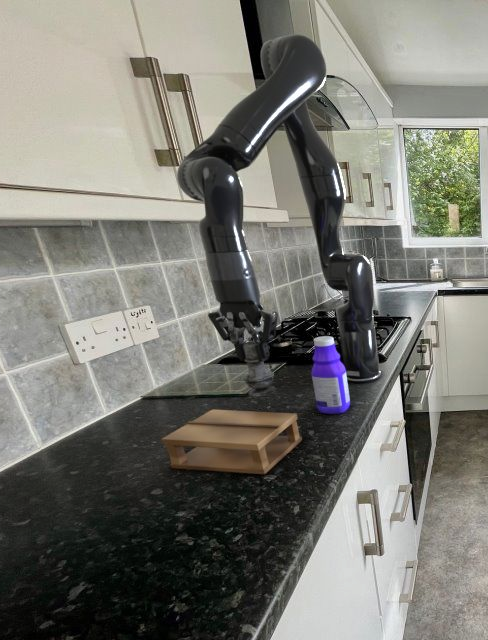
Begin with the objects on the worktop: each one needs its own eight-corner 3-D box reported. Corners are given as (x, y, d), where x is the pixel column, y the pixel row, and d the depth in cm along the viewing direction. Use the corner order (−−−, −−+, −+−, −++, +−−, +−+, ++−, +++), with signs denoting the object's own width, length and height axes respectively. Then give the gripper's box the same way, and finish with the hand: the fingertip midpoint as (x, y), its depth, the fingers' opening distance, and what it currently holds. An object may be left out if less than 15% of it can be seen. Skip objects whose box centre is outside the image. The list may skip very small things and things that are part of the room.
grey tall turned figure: (264, 398, 85) (250, 342, 80) (240, 395, 86) (225, 340, 81) (283, 387, 90) (271, 334, 85) (260, 385, 91) (247, 332, 86)
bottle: (355, 405, 98) (344, 335, 91) (344, 416, 92) (332, 342, 86) (326, 404, 98) (313, 334, 92) (314, 414, 93) (300, 341, 87)
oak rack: (220, 435, 84) (212, 407, 82) (302, 440, 83) (296, 412, 80) (171, 468, 73) (160, 437, 71) (264, 474, 71) (256, 443, 69)
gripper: (279, 273, 81) (296, 355, 88) (214, 272, 83) (235, 353, 89) (254, 278, 74) (275, 367, 81) (183, 278, 76) (209, 365, 82)
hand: (254, 359), depth 85 cm, fingers closed on grey tall turned figure, 3 cm apart
